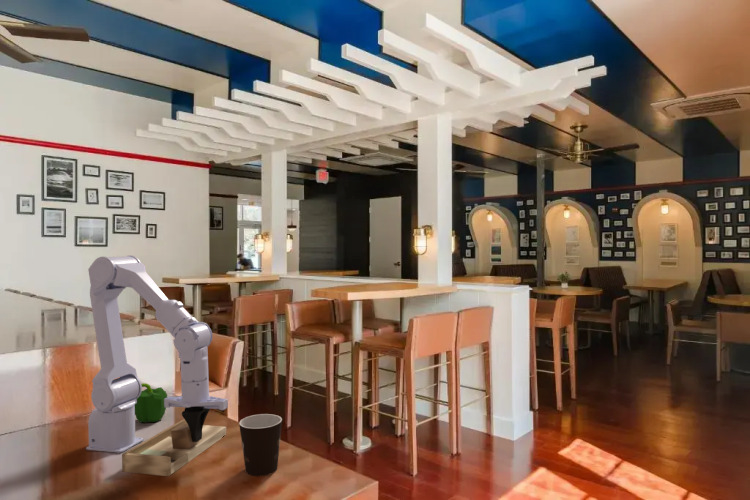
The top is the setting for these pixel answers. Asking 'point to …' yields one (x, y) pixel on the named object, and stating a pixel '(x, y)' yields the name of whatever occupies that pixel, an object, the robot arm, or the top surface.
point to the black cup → (261, 443)
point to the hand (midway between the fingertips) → (197, 440)
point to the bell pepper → (150, 404)
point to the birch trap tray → (167, 452)
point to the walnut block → (182, 437)
